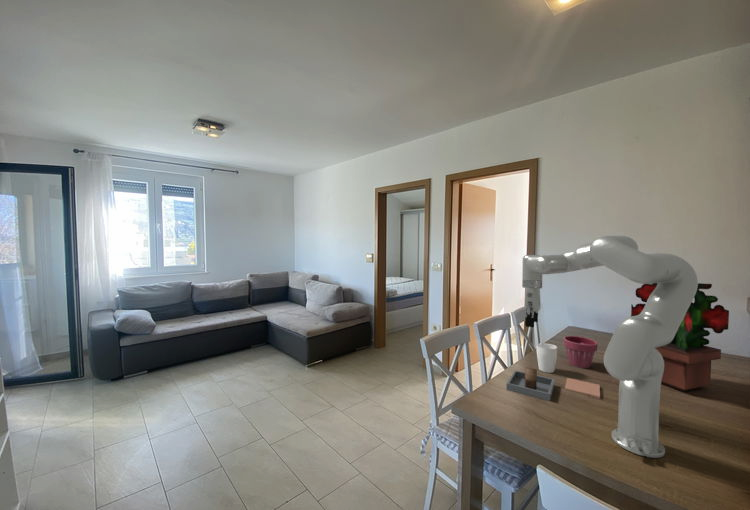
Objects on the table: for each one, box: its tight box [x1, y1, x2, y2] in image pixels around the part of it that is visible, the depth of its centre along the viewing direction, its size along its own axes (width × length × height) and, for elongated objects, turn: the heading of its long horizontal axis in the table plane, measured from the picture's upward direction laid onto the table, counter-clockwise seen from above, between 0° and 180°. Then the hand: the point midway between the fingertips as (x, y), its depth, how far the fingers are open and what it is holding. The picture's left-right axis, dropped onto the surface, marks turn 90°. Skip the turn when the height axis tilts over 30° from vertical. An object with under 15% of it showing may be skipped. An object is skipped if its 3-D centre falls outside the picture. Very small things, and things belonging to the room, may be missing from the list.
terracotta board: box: [564, 377, 601, 400], centre depth 130 cm, size 12×12×1 cm
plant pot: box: [563, 335, 598, 369], centre depth 155 cm, size 14×14×13 cm
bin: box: [506, 370, 555, 402], centre depth 130 cm, size 16×16×4 cm
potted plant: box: [630, 282, 730, 392], centre depth 133 cm, size 22×22×45 cm
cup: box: [536, 342, 558, 373], centre depth 149 cm, size 9×9×12 cm
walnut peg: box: [524, 366, 538, 390], centre depth 130 cm, size 4×4×8 cm
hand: (531, 324), depth 129 cm, fingers open, 9 cm apart
